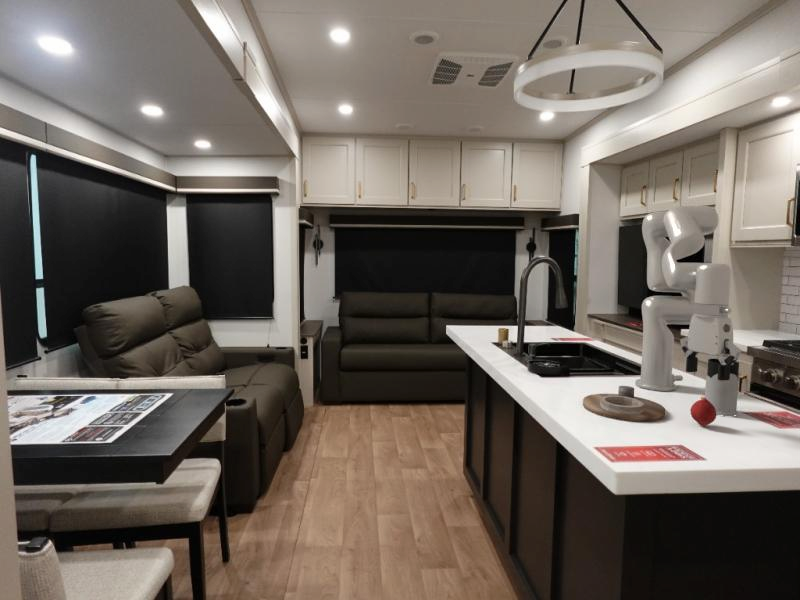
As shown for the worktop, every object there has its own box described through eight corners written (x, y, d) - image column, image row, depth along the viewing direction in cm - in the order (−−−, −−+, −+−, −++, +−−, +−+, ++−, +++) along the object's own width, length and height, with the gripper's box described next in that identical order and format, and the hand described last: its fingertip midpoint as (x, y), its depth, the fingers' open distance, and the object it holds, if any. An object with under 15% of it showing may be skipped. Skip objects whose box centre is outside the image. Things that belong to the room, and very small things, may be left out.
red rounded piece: (708, 422, 131) (710, 394, 131) (720, 430, 126) (722, 400, 125) (685, 421, 132) (687, 393, 131) (696, 429, 126) (698, 399, 126)
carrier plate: (627, 396, 156) (628, 382, 155) (683, 418, 135) (685, 402, 134) (567, 400, 150) (568, 386, 150) (616, 424, 129) (617, 408, 129)
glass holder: (706, 414, 138) (710, 363, 137) (693, 400, 152) (697, 353, 151) (742, 418, 136) (746, 365, 134) (726, 403, 149) (729, 355, 148)
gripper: (754, 314, 119) (749, 383, 120) (694, 308, 135) (690, 368, 136) (729, 314, 117) (725, 384, 118) (672, 308, 133) (669, 369, 135)
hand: (706, 375), depth 127 cm, fingers open, 9 cm apart
